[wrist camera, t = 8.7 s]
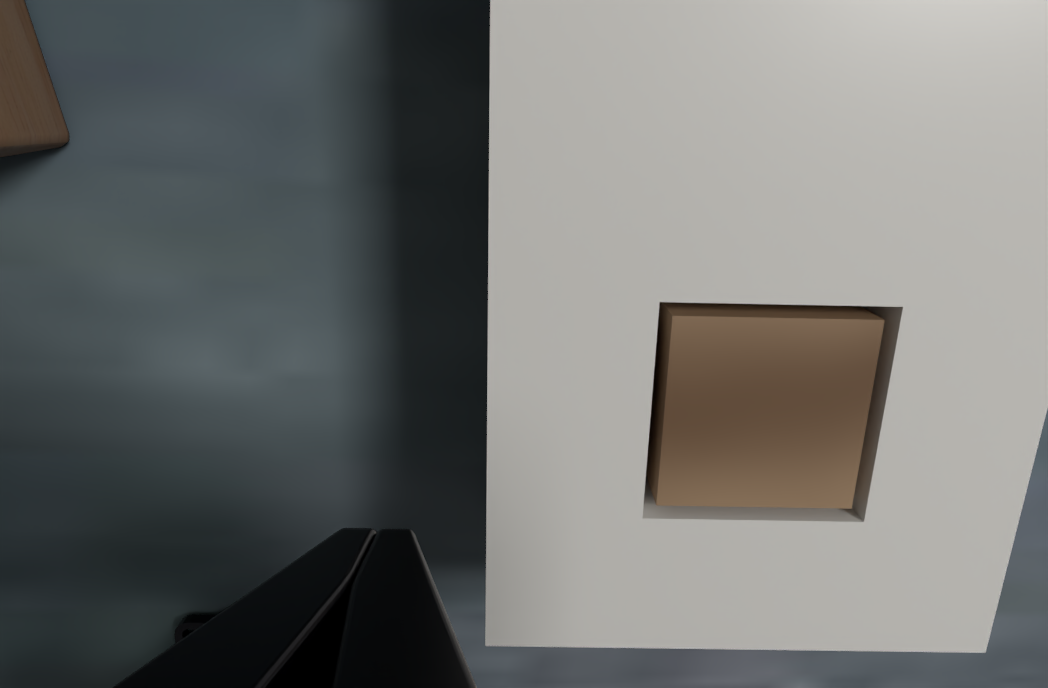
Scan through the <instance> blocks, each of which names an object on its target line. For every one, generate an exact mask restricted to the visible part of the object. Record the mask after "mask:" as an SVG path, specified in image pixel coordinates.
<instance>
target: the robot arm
mask: <svg viewBox="0 0 1048 688" xmlns="http://www.w3.org/2000/svg"><path fill="white" fill-rule="evenodd" d="M188 629H192V630H194V631H193V632H192V633H191V632H190V631H189V630H188ZM175 642H176V644H174V645H173V646H172V647H170V648H169V649H167V650H166V651H164V652H163V653H161V654H160V655H159V656H157V657H156V658H154V659H153V660H151V661H150V662H148V663H147V664H146V665H144V666H143V667H141V668H140V669H138V670H137V671H135V672H134V673H133V674H131V675H130V676H128V677H127V678H125V679H124V680H122V681H121V682H120V683H118V684H117V685H115V686H114V687H113V688H477V687H476V684H475V682H474V679H473V677H472V675H471V672H470V670H469V667H468V665H467V662H466V660H465V657H464V655H463V652H462V650H461V647H460V645H459V642H458V640H457V637H456V635H455V632H454V630H453V628H452V625H451V623H450V620H449V618H448V615H447V613H446V610H445V608H444V605H443V603H442V600H441V598H440V595H439V593H438V590H437V588H436V585H435V583H434V580H433V578H432V576H431V573H430V571H429V568H428V566H427V563H426V561H425V558H424V556H423V553H422V551H421V548H420V546H419V543H418V541H417V538H416V536H415V534H414V532H413V531H412V530H411V529H380V530H379V531H378V532H376V531H375V530H374V529H371V528H343V529H341V530H339V531H337V532H336V533H334V534H333V535H331V536H330V537H329V538H327V539H326V540H324V541H323V542H321V543H320V544H318V545H317V546H316V547H314V548H313V549H311V550H310V551H308V552H307V553H305V554H304V555H303V556H301V557H300V558H298V559H297V560H295V561H294V562H293V563H291V564H290V565H288V566H287V567H285V568H284V569H282V570H281V571H280V572H278V573H277V574H275V575H274V576H272V577H271V578H269V579H268V580H267V581H265V582H264V583H262V584H261V585H259V586H258V587H257V588H255V589H254V590H252V591H251V592H249V593H248V594H246V595H245V596H244V597H242V598H241V599H239V600H238V601H236V602H235V603H233V604H232V605H231V606H229V607H228V608H226V609H225V610H223V611H222V612H220V613H219V614H218V615H188V616H186V617H184V618H183V619H182V621H181V622H180V624H179V625H178V627H177V628H176V630H175Z"/></svg>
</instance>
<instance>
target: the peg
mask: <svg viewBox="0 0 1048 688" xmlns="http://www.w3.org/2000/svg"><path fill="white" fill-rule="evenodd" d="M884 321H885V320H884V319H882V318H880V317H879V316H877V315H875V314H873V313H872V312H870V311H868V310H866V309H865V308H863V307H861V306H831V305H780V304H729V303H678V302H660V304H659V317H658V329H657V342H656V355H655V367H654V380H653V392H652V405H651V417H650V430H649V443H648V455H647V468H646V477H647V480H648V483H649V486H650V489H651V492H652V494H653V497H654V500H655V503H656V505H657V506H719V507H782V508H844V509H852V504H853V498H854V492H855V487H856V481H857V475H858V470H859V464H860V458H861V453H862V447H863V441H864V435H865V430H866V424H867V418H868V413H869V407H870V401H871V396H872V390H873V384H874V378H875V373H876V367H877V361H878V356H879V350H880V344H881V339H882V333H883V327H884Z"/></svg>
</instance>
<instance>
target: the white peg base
mask: <svg viewBox="0 0 1048 688" xmlns="http://www.w3.org/2000/svg"><path fill="white" fill-rule="evenodd" d="M660 302H678V303H729V304H780V305H831V306H861V307H863V308H865V309H866V310H868V311H870V312H872V313H873V314H875V315H877V316H879V317H880V318H882V319H884V320H885V321H884V327H883V333H882V339H881V344H880V350H879V356H878V361H877V367H876V373H875V378H874V384H873V390H872V396H871V401H870V407H869V413H868V418H867V424H866V430H865V435H864V441H863V447H862V453H861V458H860V464H859V470H858V475H857V481H856V487H855V492H854V498H853V504H852V509H844V508H782V507H719V506H657V505H656V503H655V500H654V497H653V494H652V492H651V489H650V486H649V483H648V480H647V477H646V468H647V455H648V443H649V430H650V417H651V405H652V392H653V380H654V367H655V355H656V342H657V329H658V317H659V304H660ZM1047 408H1048V0H490V91H489V226H488V361H487V497H486V632H485V646H525V647H599V648H674V649H748V650H822V651H897V652H971V653H985V652H986V648H987V645H988V641H989V637H990V633H991V629H992V625H993V621H994V617H995V613H996V609H997V605H998V601H999V597H1000V593H1001V589H1002V585H1003V581H1004V578H1005V574H1006V570H1007V566H1008V562H1009V558H1010V554H1011V550H1012V546H1013V542H1014V538H1015V534H1016V530H1017V526H1018V522H1019V518H1020V514H1021V511H1022V507H1023V503H1024V499H1025V495H1026V491H1027V487H1028V483H1029V479H1030V475H1031V471H1032V467H1033V463H1034V459H1035V455H1036V451H1037V447H1038V444H1039V440H1040V436H1041V432H1042V428H1043V424H1044V420H1045V416H1046V412H1047Z"/></svg>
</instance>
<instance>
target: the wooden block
mask: <svg viewBox="0 0 1048 688" xmlns="http://www.w3.org/2000/svg"><path fill="white" fill-rule="evenodd" d="M68 141H69V132H68V129H67V126H66V123H65V120H64V117H63V114H62V111H61V108H60V105H59V102H58V99H57V96H56V93H55V90H54V87H53V84H52V81H51V78H50V75H49V72H48V69H47V66H46V63H45V60H44V57H43V54H42V51H41V48H40V45H39V42H38V39H37V36H36V33H35V30H34V27H33V24H32V21H31V18H30V15H29V12H28V9H27V6H26V3H25V0H0V157H5V156H11V155H17V154H23V153H28V152H34V151H40V150H46V149H52V148H57V147H61V146H63V145H64V144H65V143H67V142H68Z"/></svg>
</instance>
